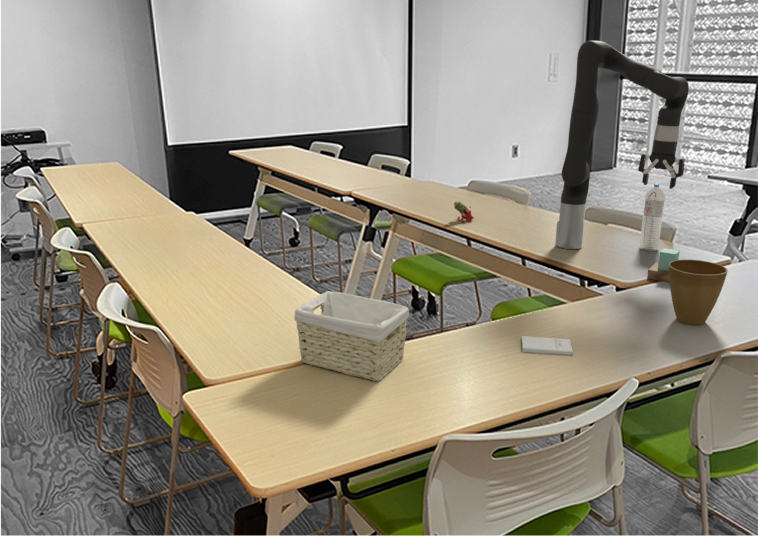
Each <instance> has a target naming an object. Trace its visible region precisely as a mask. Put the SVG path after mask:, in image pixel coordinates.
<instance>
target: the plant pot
mask: <svg viewBox="0 0 758 536" xmlns="http://www.w3.org/2000/svg"><path fill="white" fill-rule="evenodd" d="M728 272H729V271H728V268H727V267H726V266H724V265H722V264H718V263H715V262H713V261H706V260H701V259H700V260H699V259H678V260H675V261H672V262H670V263H669V280H670V282H669V289H670V295H671V301H672V306H673V311H674V313H675V318H676V321H678V322H680V323H682V324H685V325H690V326H692V325H693V326H701V325H704V324H705V323H706V321H707V320H708V318H709V316H710V315H711V313H712V311H713V309H714V307H715V305H716V304H717V301H718V299H719V297H720V294H721V292H722V289H723V287H724V284H725V282H726V277H727V275H728Z"/></svg>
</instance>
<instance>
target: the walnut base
mask: <svg viewBox="0 0 758 536" xmlns="http://www.w3.org/2000/svg"><path fill="white" fill-rule="evenodd" d="M658 263H659V262H655V263H654V264H653V265H651V266H650V267H649V268H648V270H647V279H649V280H655V281H660V282H666V283H670V280H669V271H666V270H660V269H658Z"/></svg>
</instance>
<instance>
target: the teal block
mask: <svg viewBox="0 0 758 536" xmlns="http://www.w3.org/2000/svg"><path fill="white" fill-rule="evenodd" d="M658 257H659V258H658V262H657V263H658V269H660V270H666V271H669V263H670V262H672V261H675V260H679V258H680V250H677V249H671V248H662V249H661V250H660V251H659V256H658Z"/></svg>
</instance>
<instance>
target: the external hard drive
mask: <svg viewBox="0 0 758 536" xmlns="http://www.w3.org/2000/svg"><path fill="white" fill-rule="evenodd" d="M520 340H521V349H522V350H521V351H522V353H537V354H550V355H551V354H554V355H568V356H573V354H574V351H573V347H572V343H571V339H569V338H567V339H566V338H554V337H541V336H540V337H539V336H526V335H522V336H521V339H520Z"/></svg>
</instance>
